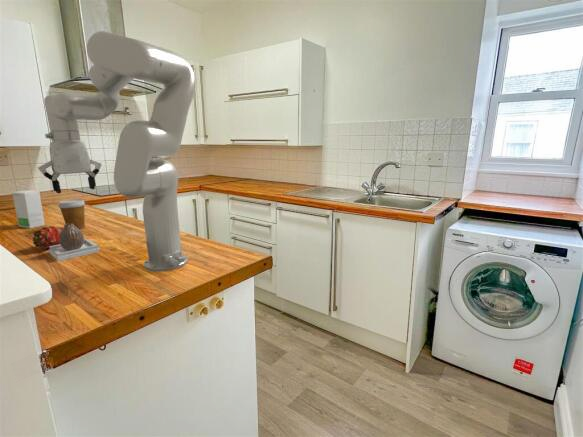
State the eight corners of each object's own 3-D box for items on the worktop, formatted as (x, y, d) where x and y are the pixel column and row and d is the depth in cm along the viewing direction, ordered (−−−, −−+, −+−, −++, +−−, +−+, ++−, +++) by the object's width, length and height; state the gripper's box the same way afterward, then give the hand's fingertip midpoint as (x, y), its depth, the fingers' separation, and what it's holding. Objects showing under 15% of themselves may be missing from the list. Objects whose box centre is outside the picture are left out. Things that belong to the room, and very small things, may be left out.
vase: (81, 244, 114) (76, 220, 111) (88, 248, 109) (84, 223, 107) (58, 249, 108) (53, 224, 106) (65, 253, 104) (60, 228, 102)
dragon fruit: (39, 258, 108) (58, 251, 120) (60, 242, 109) (77, 237, 121) (20, 239, 107) (41, 234, 118) (41, 223, 107) (60, 219, 119)
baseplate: (99, 251, 110) (98, 245, 109) (57, 261, 101) (56, 254, 101) (89, 244, 118) (88, 238, 117) (49, 252, 109) (48, 246, 109)
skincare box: (18, 226, 142) (10, 192, 138) (34, 223, 148) (27, 189, 144) (30, 228, 139) (23, 193, 136) (46, 224, 145) (39, 190, 142)
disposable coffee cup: (86, 224, 146) (81, 198, 143) (91, 228, 139) (87, 201, 136) (60, 228, 139) (55, 201, 136) (65, 232, 132) (60, 204, 130)
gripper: (34, 137, 93) (46, 195, 97) (100, 136, 105) (108, 188, 109) (29, 138, 98) (41, 193, 102) (92, 137, 110) (100, 186, 114)
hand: (76, 190), depth 106 cm, fingers open, 9 cm apart
